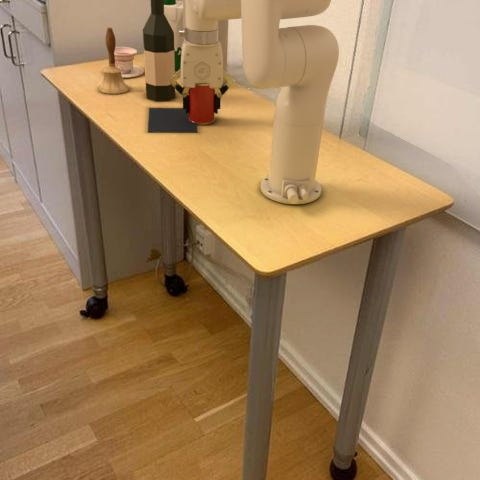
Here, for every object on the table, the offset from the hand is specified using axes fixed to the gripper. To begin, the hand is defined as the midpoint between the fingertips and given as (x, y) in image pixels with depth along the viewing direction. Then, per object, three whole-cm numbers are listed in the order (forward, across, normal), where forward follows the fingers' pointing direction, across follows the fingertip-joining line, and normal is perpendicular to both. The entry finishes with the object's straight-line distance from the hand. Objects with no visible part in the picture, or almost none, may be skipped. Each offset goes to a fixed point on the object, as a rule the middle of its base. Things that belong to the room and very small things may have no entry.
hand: (201, 111), depth 147 cm
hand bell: (+2, -24, +22) cm, 32 cm away
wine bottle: (+2, -10, +17) cm, 20 cm away
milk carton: (+2, -6, +42) cm, 43 cm away
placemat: (+2, -7, 0) cm, 8 cm away
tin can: (+2, 0, 0) cm, 2 cm away
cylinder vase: (+2, +2, +30) cm, 30 cm away
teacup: (+2, -22, +37) cm, 43 cm away
